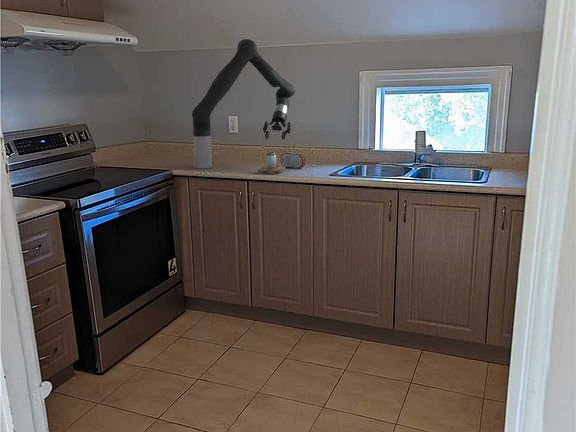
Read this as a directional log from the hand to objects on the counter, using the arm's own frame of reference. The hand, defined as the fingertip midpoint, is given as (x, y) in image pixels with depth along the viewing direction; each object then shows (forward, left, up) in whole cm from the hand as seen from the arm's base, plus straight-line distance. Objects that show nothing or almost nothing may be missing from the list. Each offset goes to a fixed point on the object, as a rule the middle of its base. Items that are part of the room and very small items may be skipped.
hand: (274, 138), depth 279 cm
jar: (0, -6, -15) cm, 16 cm away
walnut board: (0, -7, -17) cm, 18 cm away
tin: (+7, +10, -17) cm, 21 cm away
